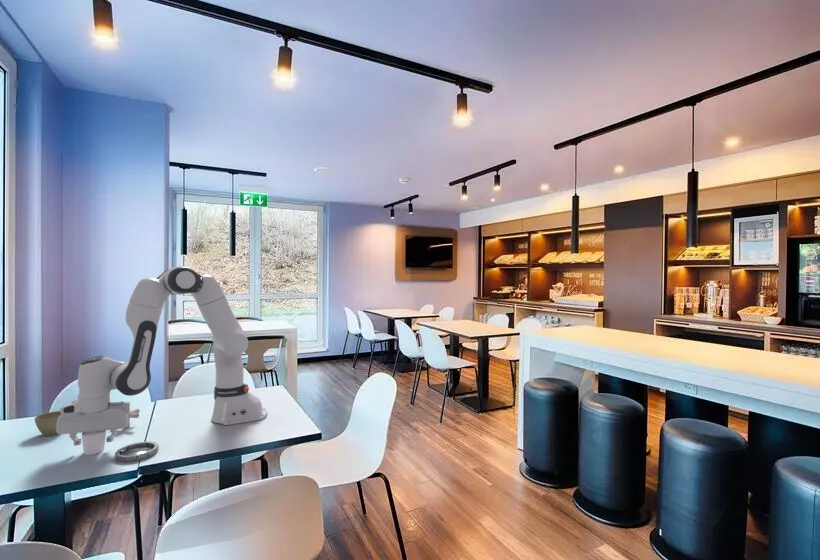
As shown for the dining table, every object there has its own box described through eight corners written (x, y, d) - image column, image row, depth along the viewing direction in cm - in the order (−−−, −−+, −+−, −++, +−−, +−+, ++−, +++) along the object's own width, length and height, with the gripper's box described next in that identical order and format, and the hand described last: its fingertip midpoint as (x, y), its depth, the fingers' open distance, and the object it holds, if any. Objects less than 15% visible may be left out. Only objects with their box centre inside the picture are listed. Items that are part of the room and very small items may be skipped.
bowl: (162, 444, 144) (162, 440, 144) (152, 459, 133) (152, 454, 133) (123, 449, 140) (123, 444, 140) (109, 464, 129) (109, 458, 129)
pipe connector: (126, 433, 154) (126, 407, 154) (104, 430, 156) (105, 405, 156) (147, 423, 164) (147, 399, 164) (127, 421, 166) (127, 398, 166)
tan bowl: (68, 426, 160) (68, 408, 160) (70, 433, 153) (70, 415, 153) (34, 433, 154) (34, 414, 153) (34, 440, 146) (34, 421, 146)
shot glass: (90, 447, 142) (90, 427, 142) (110, 446, 142) (111, 427, 142) (76, 455, 135) (76, 435, 135) (97, 455, 135) (97, 435, 135)
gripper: (132, 398, 145) (131, 436, 145) (63, 403, 138) (63, 443, 138) (125, 403, 139) (125, 443, 139) (53, 409, 132) (53, 450, 132)
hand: (93, 443), depth 139 cm, fingers open, 8 cm apart
